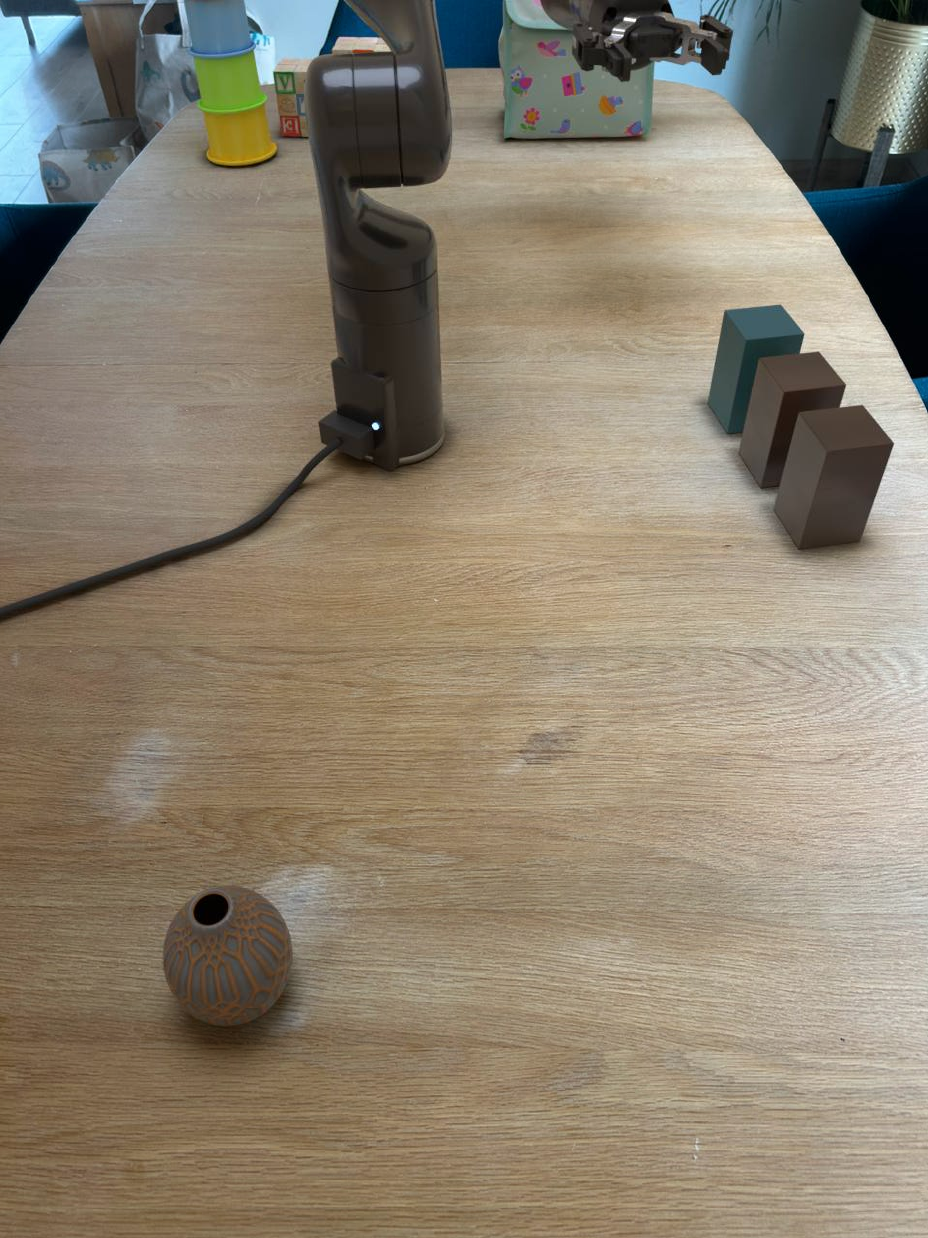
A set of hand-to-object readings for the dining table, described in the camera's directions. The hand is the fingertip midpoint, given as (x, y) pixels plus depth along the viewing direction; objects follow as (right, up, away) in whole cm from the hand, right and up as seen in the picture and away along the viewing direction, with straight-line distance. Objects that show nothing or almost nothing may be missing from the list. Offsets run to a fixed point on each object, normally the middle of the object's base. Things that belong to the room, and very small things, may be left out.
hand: (674, 66), depth 89 cm
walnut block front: (+12, -41, -3) cm, 43 cm away
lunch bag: (-2, +26, +64) cm, 70 cm away
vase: (-32, -70, -31) cm, 83 cm away
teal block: (+9, -29, +9) cm, 32 cm away
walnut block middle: (+10, -35, +3) cm, 37 cm away
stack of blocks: (-36, +25, +64) cm, 78 cm away
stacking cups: (-51, +19, +58) cm, 80 cm away
